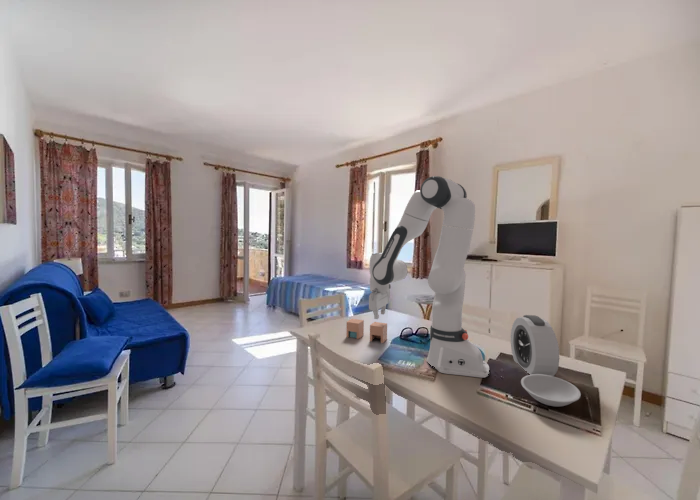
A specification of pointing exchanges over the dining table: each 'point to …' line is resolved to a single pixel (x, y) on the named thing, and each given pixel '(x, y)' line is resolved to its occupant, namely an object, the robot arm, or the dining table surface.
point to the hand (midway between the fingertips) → (379, 316)
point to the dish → (550, 389)
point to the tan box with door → (355, 327)
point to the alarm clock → (535, 345)
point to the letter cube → (353, 334)
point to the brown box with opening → (378, 331)
